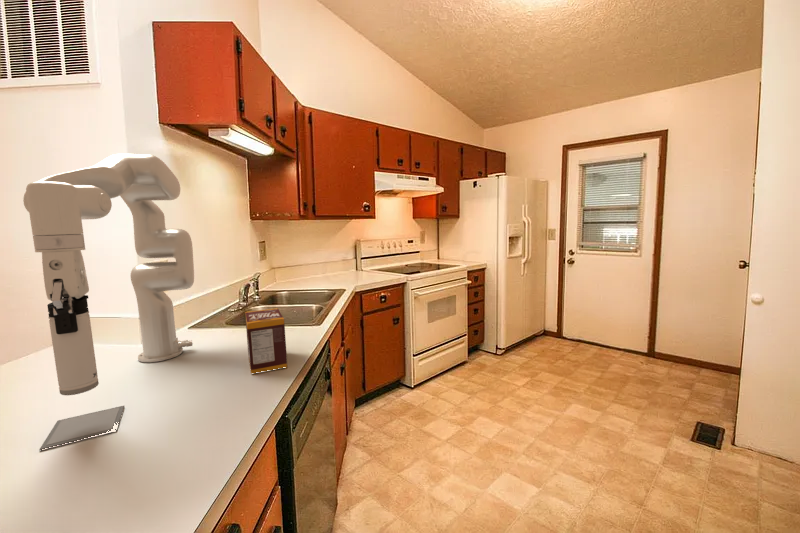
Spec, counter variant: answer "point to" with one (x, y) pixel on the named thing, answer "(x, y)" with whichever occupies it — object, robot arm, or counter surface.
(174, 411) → the counter surface
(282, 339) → the supplement box
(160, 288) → the robot arm
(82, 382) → the travel mug
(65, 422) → the mat
